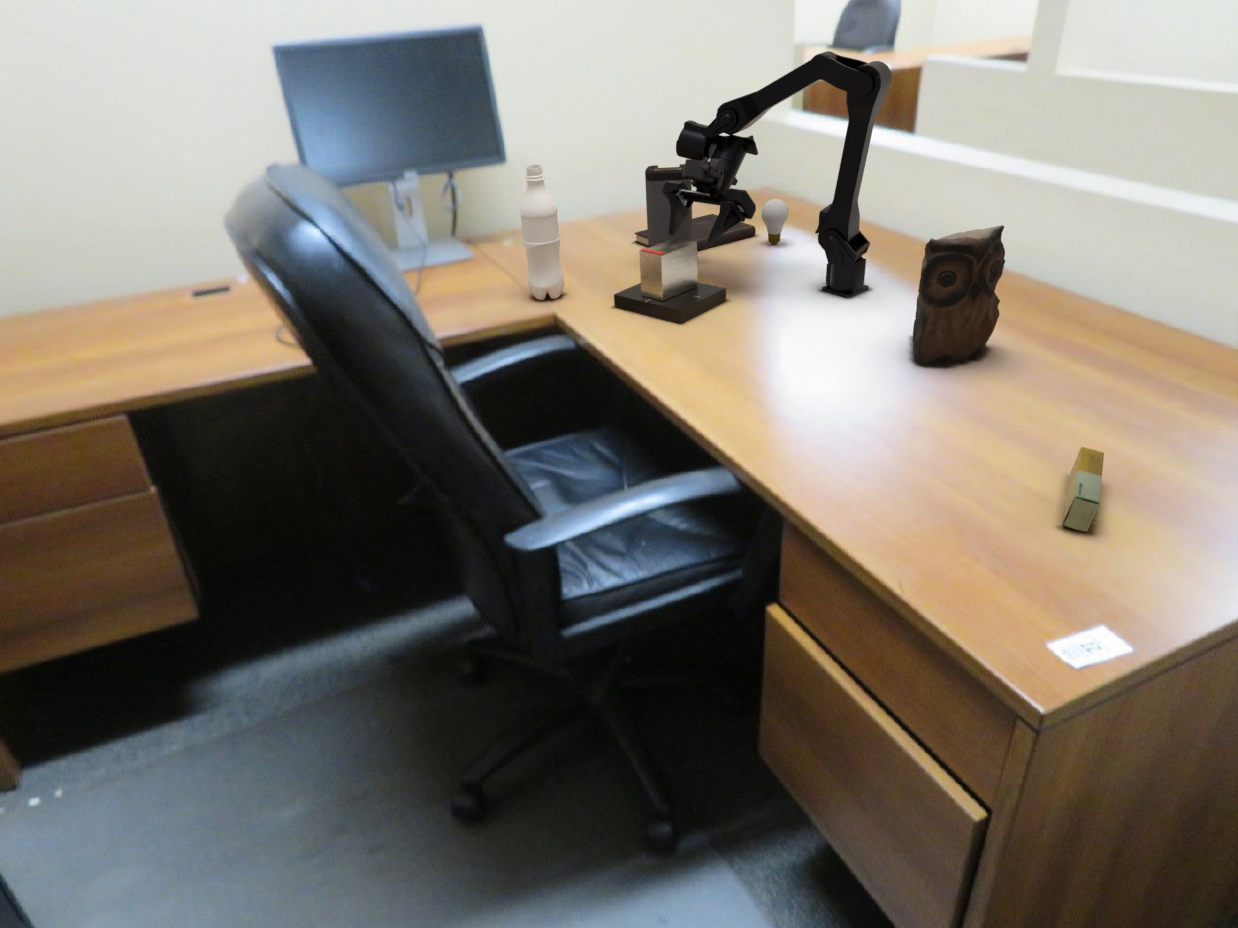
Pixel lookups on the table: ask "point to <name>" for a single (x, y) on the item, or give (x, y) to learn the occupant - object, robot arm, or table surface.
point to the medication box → (1083, 490)
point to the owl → (958, 297)
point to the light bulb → (774, 218)
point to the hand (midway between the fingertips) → (689, 238)
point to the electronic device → (664, 205)
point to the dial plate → (672, 302)
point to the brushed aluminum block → (668, 269)
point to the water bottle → (541, 237)
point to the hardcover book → (708, 232)
